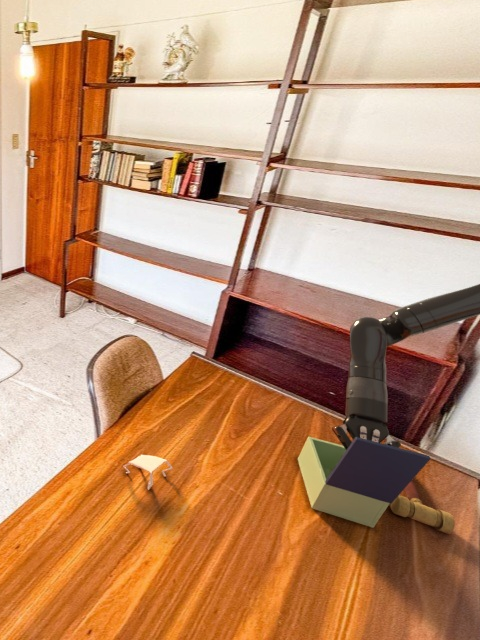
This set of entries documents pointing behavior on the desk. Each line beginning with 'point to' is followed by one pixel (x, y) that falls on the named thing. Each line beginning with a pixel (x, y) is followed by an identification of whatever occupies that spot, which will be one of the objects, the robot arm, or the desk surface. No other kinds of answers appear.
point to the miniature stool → (148, 465)
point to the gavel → (421, 510)
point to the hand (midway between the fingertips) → (364, 476)
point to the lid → (376, 469)
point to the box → (316, 469)
